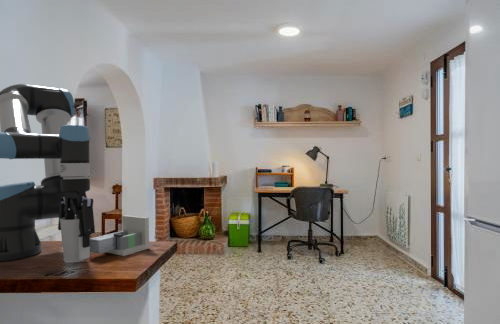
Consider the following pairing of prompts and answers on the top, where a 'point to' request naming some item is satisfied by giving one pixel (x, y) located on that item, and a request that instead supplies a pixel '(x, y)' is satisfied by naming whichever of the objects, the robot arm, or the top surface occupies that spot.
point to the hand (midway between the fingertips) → (76, 256)
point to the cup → (70, 239)
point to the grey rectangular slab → (104, 243)
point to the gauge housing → (132, 235)
